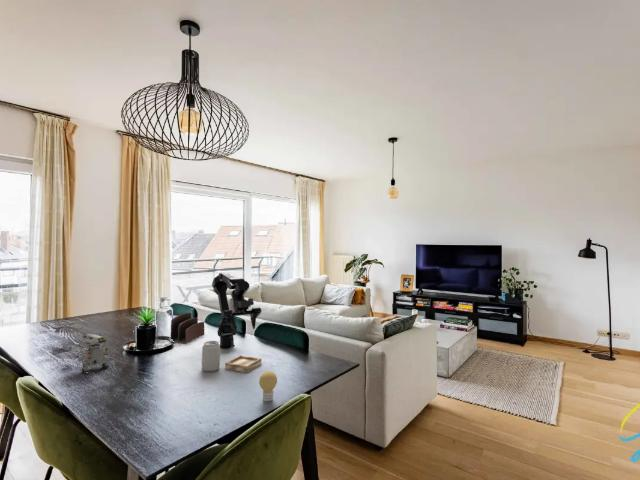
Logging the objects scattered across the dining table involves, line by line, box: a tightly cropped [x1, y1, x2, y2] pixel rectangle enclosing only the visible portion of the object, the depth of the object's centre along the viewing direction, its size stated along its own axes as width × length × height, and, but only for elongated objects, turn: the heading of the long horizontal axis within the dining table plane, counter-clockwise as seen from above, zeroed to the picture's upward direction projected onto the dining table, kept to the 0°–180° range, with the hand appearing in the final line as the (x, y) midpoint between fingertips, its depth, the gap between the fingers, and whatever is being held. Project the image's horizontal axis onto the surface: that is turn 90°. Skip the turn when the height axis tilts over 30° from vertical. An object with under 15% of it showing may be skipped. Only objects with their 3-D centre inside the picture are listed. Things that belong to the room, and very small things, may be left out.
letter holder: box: [170, 312, 205, 344], centre depth 200 cm, size 10×20×14 cm, turn 169°
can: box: [201, 340, 221, 373], centre depth 151 cm, size 8×8×12 cm
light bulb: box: [258, 371, 278, 403], centre depth 122 cm, size 6×6×10 cm
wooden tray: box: [224, 355, 262, 373], centre depth 155 cm, size 12×12×2 cm
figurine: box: [76, 333, 109, 373], centre depth 150 cm, size 9×12×15 cm
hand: (245, 330), depth 162 cm, fingers open, 9 cm apart
